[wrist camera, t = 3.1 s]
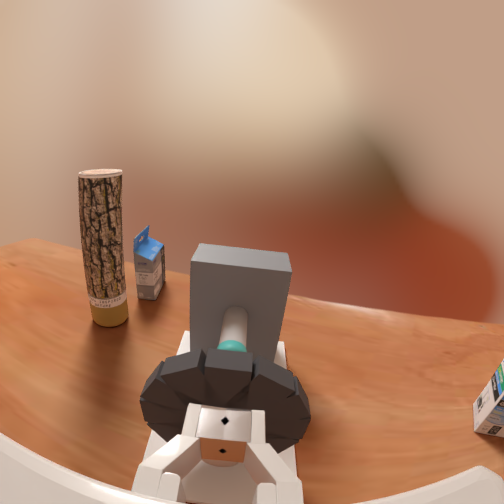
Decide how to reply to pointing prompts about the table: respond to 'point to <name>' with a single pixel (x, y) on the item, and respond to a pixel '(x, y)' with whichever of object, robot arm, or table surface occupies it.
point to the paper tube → (103, 244)
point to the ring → (226, 393)
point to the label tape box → (148, 266)
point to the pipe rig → (233, 344)
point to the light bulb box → (491, 406)
